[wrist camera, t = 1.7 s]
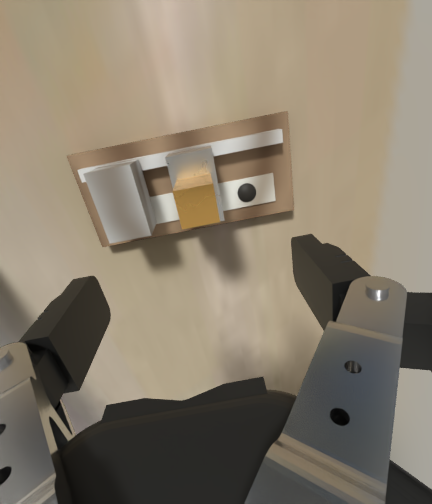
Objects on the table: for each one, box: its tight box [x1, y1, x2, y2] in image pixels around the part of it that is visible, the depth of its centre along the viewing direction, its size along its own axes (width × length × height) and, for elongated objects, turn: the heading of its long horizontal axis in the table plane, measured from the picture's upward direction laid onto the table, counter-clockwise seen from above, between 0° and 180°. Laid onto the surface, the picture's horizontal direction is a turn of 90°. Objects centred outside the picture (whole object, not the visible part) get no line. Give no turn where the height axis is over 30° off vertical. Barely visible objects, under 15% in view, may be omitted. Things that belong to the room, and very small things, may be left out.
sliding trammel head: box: [165, 145, 225, 230], centre depth 25 cm, size 4×6×9 cm, turn 10°
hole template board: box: [67, 111, 294, 247], centre depth 28 cm, size 22×10×6 cm, turn 100°
